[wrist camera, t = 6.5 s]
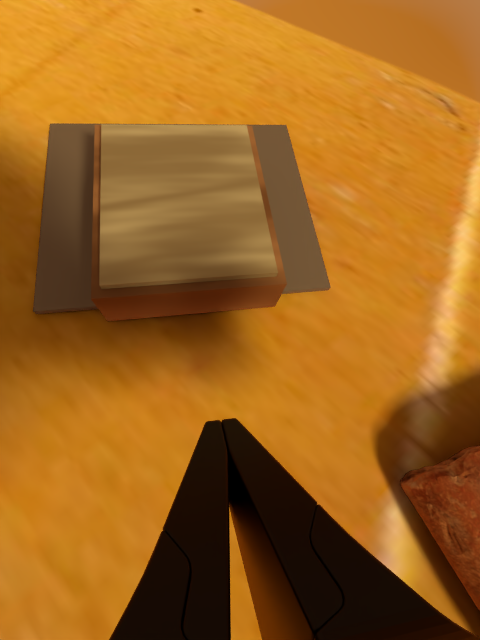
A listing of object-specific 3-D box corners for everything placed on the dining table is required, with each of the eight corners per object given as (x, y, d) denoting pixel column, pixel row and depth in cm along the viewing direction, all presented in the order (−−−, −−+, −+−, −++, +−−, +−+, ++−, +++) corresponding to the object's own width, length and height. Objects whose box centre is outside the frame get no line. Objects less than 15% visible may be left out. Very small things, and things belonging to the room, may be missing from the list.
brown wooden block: (288, 280, 17) (253, 119, 21) (88, 295, 15) (92, 118, 19) (274, 306, 20) (246, 162, 24) (107, 321, 18) (107, 164, 22)
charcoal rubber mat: (328, 290, 21) (330, 287, 21) (36, 314, 18) (33, 311, 18) (285, 129, 26) (286, 125, 26) (52, 128, 24) (50, 123, 23)
